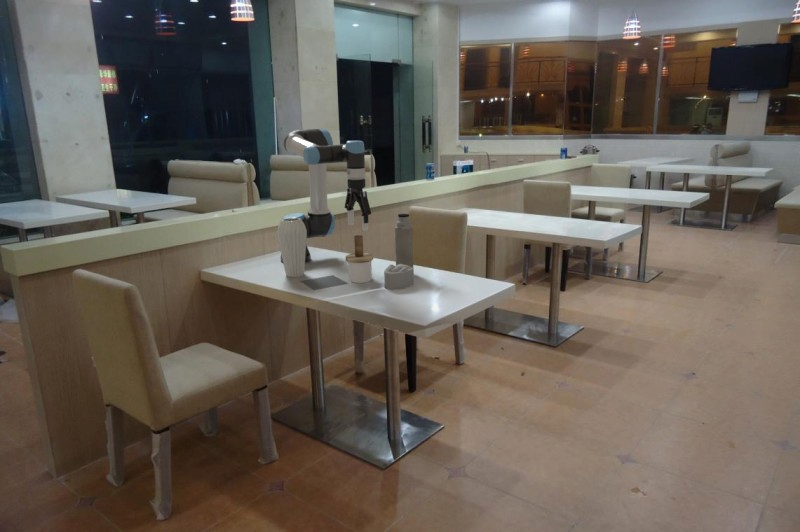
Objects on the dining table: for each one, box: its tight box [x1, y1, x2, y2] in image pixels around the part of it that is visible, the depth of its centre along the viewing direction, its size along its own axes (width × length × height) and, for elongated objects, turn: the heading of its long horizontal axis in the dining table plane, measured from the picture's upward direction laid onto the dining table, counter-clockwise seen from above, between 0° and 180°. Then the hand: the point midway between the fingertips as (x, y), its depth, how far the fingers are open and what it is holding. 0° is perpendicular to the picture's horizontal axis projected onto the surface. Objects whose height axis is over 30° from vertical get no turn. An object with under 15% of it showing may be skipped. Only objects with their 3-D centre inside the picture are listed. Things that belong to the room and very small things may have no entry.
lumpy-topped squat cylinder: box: [383, 264, 415, 291], centre depth 240 cm, size 10×13×9 cm
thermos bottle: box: [394, 213, 415, 276], centre depth 253 cm, size 8×8×28 cm
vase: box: [276, 218, 307, 278], centre depth 256 cm, size 13×13×26 cm
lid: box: [345, 234, 374, 263], centre depth 245 cm, size 12×12×10 cm
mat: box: [299, 274, 349, 291], centre depth 246 cm, size 16×16×1 cm
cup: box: [347, 261, 373, 284], centre depth 247 cm, size 10×10×10 cm
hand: (358, 227), depth 243 cm, fingers open, 13 cm apart
